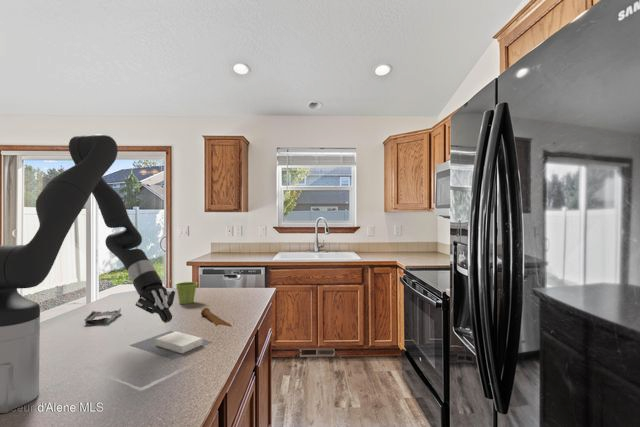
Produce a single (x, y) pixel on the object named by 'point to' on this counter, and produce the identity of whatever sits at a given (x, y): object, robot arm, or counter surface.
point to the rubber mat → (151, 347)
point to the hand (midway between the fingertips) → (168, 320)
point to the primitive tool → (213, 318)
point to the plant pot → (186, 292)
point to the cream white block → (179, 342)
